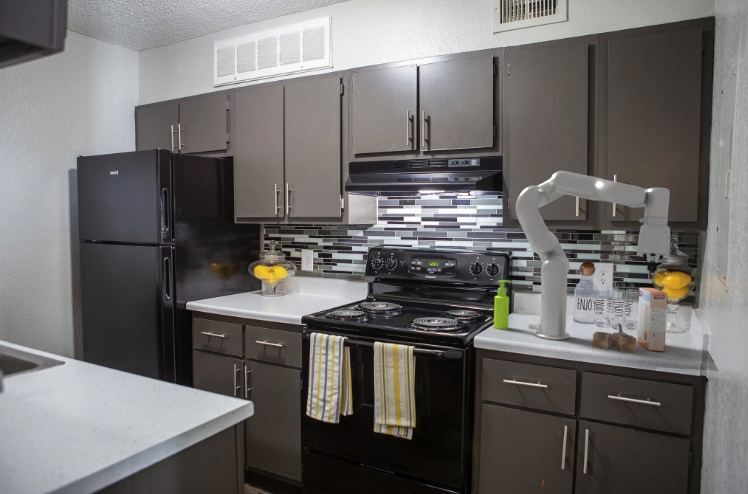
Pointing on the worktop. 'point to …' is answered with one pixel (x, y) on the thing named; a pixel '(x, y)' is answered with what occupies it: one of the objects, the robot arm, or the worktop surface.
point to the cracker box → (652, 319)
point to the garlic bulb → (614, 335)
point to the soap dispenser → (501, 307)
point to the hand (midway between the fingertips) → (651, 272)
